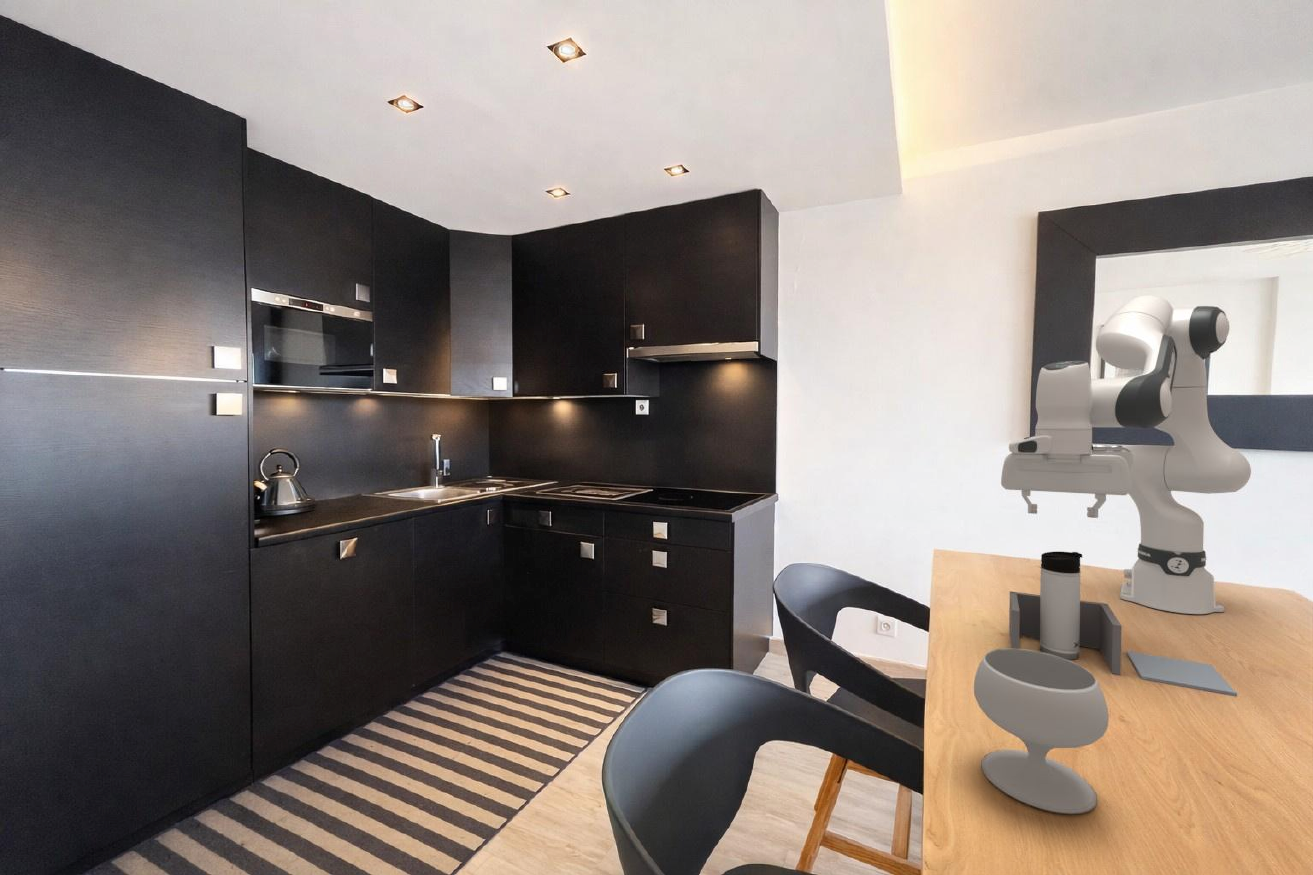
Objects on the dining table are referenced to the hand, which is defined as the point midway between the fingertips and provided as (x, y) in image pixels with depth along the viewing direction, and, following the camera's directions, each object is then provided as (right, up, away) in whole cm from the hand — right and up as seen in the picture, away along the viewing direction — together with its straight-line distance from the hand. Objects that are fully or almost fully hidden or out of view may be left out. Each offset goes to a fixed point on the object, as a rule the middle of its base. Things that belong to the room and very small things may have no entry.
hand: (1061, 515), depth 106 cm
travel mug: (0, -28, +1) cm, 28 cm away
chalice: (-31, -29, -36) cm, 56 cm away
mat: (+15, -27, -8) cm, 32 cm away
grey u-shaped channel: (0, -27, +1) cm, 27 cm away
